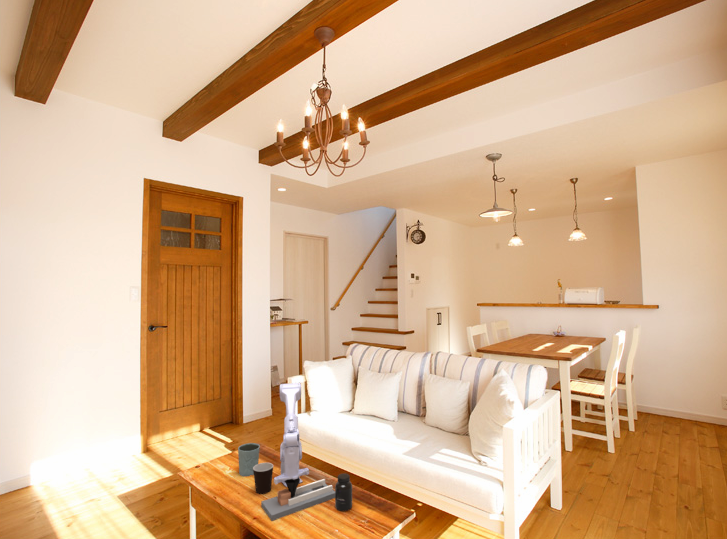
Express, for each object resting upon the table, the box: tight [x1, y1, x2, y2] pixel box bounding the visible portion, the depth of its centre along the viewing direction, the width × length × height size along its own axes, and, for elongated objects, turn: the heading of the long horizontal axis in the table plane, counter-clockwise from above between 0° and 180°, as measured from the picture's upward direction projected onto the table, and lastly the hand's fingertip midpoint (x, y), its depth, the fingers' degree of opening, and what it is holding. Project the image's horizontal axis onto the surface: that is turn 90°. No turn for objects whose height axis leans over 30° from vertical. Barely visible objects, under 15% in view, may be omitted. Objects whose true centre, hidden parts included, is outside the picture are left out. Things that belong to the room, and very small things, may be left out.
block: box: [277, 487, 291, 506], centre depth 151 cm, size 4×4×4 cm
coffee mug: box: [253, 462, 274, 495], centre depth 166 cm, size 12×9×10 cm
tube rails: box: [288, 478, 334, 506], centre depth 157 cm, size 8×20×2 cm, turn 124°
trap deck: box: [260, 482, 335, 522], centre depth 155 cm, size 12×28×2 cm, turn 124°
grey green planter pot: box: [237, 442, 261, 477], centre depth 182 cm, size 10×10×12 cm
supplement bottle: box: [334, 473, 353, 512], centre depth 151 cm, size 7×7×12 cm
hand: (292, 496), depth 153 cm, fingers closed
